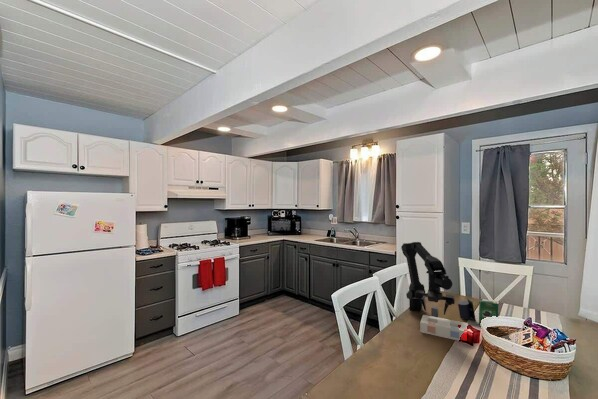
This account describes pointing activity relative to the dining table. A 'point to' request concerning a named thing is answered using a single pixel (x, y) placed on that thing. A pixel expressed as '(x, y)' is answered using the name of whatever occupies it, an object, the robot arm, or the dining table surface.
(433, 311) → the plug
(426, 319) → the port block
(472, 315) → the speaker
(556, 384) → the dining table surface
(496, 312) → the coffee box
